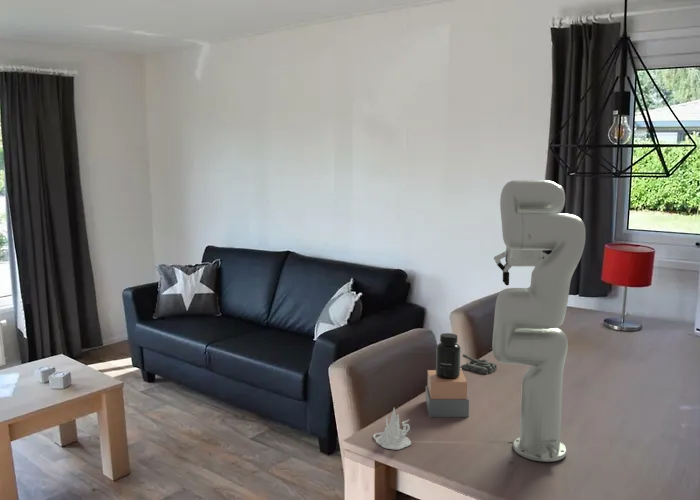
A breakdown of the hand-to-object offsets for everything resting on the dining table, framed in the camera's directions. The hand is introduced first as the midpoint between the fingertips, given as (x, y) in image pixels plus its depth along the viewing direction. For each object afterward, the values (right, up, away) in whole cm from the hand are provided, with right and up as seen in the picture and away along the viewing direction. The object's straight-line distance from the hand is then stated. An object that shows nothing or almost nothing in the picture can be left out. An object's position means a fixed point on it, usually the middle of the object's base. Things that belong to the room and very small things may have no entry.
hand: (522, 284), depth 179 cm
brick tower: (-24, -36, -7) cm, 44 cm away
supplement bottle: (-24, -26, -8) cm, 36 cm away
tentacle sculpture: (-41, -39, -27) cm, 62 cm away
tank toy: (-8, -32, +27) cm, 42 cm away
